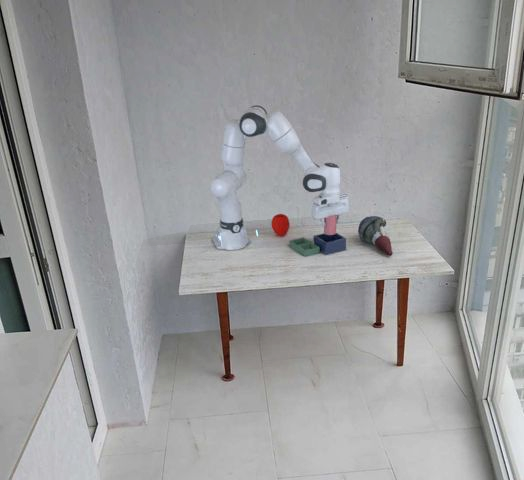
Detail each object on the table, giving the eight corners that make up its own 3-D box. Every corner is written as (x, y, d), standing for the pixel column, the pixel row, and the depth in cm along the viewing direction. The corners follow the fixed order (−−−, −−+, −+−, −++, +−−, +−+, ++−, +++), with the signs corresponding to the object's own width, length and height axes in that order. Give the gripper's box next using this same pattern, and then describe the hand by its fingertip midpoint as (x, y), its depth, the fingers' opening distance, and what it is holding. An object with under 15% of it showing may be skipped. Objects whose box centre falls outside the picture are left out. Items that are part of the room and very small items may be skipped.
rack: (289, 245, 295) (289, 240, 294) (303, 242, 298) (303, 237, 297) (305, 256, 283) (305, 250, 281) (319, 252, 286) (319, 247, 284)
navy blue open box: (313, 247, 293) (313, 235, 289) (333, 242, 297) (333, 231, 293) (325, 254, 283) (325, 243, 280) (345, 250, 287) (346, 238, 284)
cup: (321, 232, 287) (321, 214, 282) (332, 230, 289) (332, 211, 284) (328, 235, 282) (328, 217, 277) (338, 233, 284) (339, 215, 279)
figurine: (380, 276, 293) (405, 262, 285) (364, 266, 281) (390, 252, 272) (366, 230, 304) (390, 216, 296) (350, 219, 292) (374, 204, 284)
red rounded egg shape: (272, 232, 313) (271, 211, 307) (289, 232, 312) (289, 210, 306) (271, 239, 305) (270, 217, 298) (289, 238, 304) (289, 216, 297)
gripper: (345, 192, 282) (344, 218, 289) (309, 199, 275) (309, 226, 282) (352, 195, 277) (351, 222, 284) (316, 202, 270) (316, 230, 277)
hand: (330, 224), depth 283 cm, fingers closed on cup, 6 cm apart
